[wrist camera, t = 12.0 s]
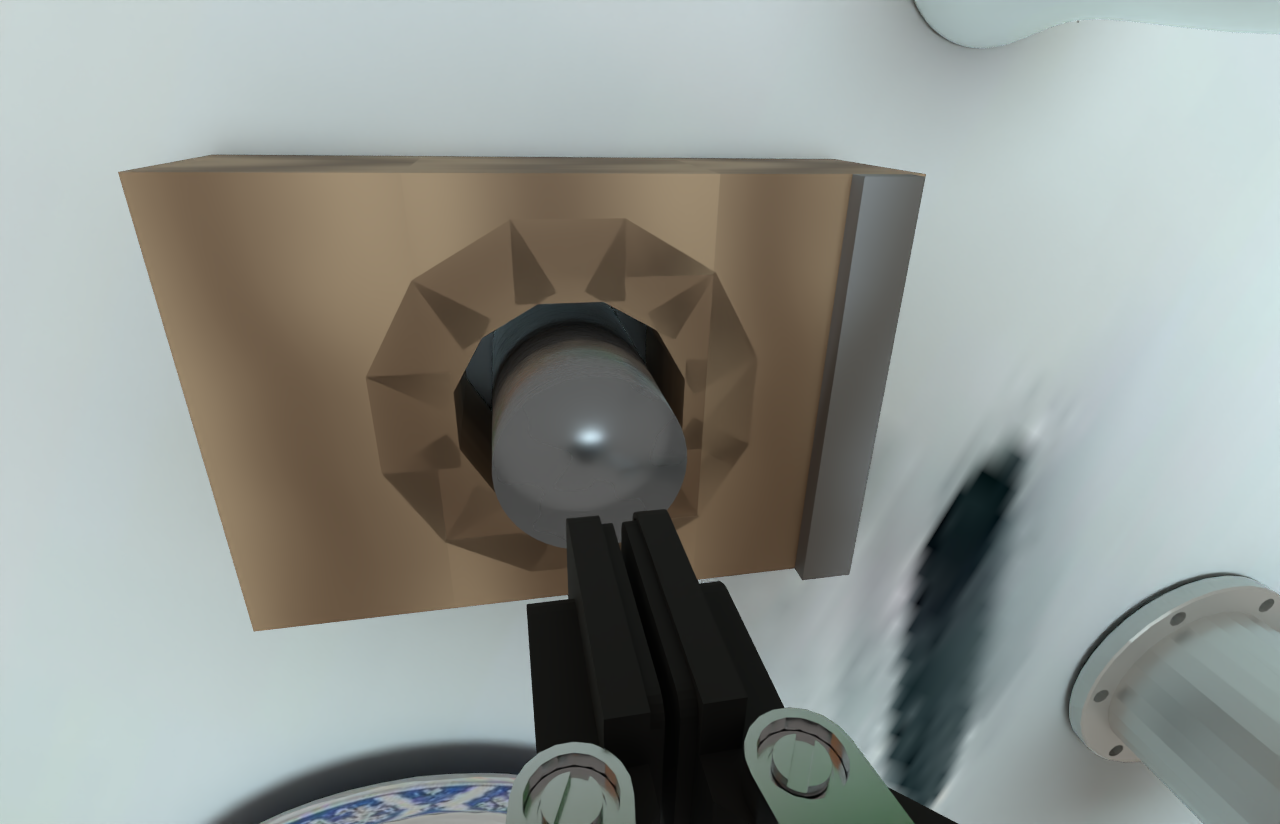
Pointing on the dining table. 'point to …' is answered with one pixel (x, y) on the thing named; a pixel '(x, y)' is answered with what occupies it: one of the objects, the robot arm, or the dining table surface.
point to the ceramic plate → (412, 802)
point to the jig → (484, 301)
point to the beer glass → (1089, 16)
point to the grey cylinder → (578, 423)
